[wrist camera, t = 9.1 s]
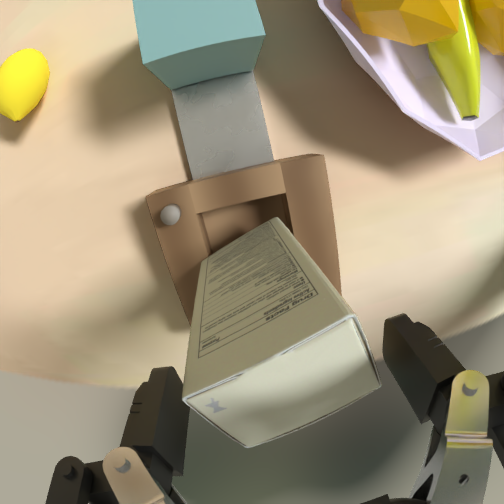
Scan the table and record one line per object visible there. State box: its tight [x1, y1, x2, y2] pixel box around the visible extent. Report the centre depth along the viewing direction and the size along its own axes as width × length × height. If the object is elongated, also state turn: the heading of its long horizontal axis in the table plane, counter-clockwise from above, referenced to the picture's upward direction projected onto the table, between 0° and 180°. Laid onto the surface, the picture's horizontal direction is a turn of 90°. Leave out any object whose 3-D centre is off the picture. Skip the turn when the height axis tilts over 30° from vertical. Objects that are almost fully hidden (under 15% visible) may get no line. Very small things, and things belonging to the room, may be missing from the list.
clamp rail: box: [171, 70, 274, 180], centre depth 17 cm, size 6×16×1 cm, turn 12°
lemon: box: [0, 49, 50, 122], centre depth 13 cm, size 7×5×5 cm
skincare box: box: [182, 217, 382, 448], centre depth 14 cm, size 6×4×12 cm
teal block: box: [133, 0, 266, 90], centre depth 13 cm, size 6×6×7 cm
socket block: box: [146, 154, 342, 326], centre depth 21 cm, size 12×12×4 cm
